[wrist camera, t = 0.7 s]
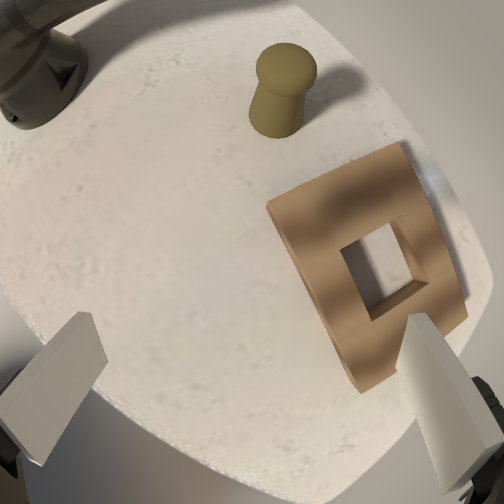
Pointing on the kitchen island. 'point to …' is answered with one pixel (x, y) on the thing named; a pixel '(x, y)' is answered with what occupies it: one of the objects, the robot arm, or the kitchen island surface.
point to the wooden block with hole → (350, 230)
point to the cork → (281, 89)
